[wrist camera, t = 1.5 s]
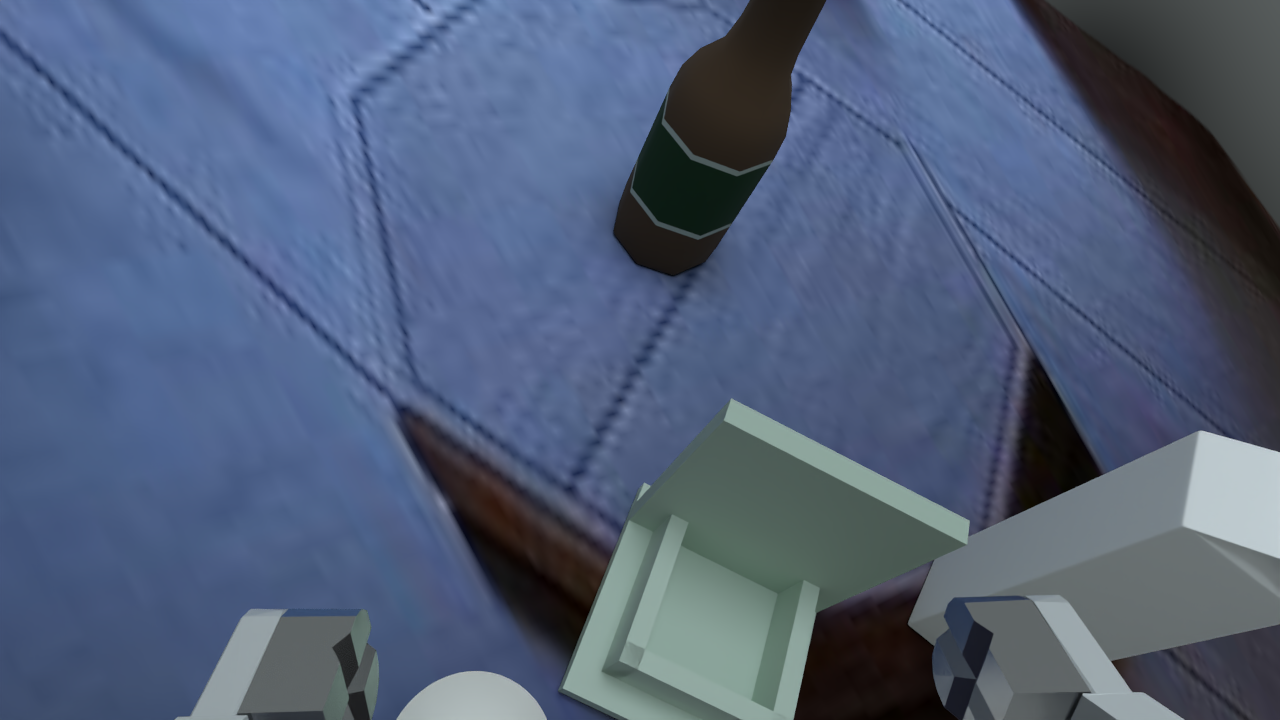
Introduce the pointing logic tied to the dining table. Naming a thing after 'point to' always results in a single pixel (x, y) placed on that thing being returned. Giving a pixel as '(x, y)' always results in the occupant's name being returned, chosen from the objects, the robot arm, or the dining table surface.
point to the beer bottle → (714, 137)
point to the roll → (473, 699)
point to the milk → (1137, 550)
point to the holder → (742, 572)
